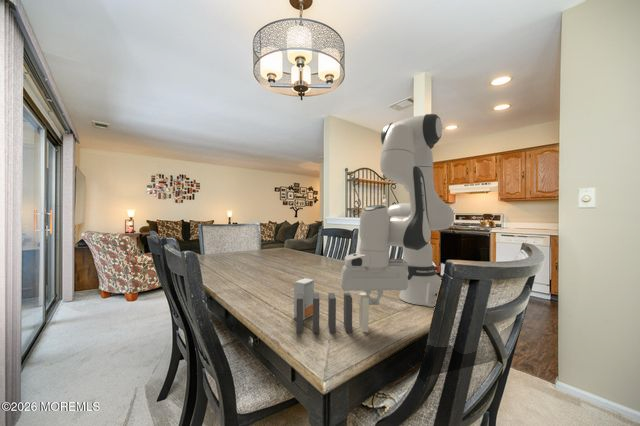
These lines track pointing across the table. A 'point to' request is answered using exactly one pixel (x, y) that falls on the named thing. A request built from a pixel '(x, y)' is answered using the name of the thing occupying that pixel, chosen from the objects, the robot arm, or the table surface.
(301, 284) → the skincare box
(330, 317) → the domino
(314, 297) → the domino
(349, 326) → the domino
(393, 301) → the table surface
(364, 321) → the domino
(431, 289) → the robot arm
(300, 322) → the domino
